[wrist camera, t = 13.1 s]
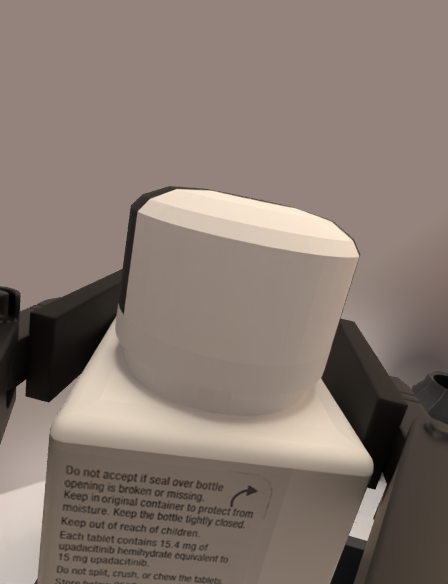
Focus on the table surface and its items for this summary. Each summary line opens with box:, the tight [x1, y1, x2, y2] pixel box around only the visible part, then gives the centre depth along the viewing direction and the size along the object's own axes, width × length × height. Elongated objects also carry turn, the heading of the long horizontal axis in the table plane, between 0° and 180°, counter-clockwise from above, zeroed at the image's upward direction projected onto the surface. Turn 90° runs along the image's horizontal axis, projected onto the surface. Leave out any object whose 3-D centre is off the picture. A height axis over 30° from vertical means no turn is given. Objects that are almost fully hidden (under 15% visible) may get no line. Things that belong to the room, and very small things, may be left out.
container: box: [37, 186, 374, 584], centre depth 12 cm, size 8×8×13 cm
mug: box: [412, 371, 448, 425], centre depth 38 cm, size 12×9×11 cm
